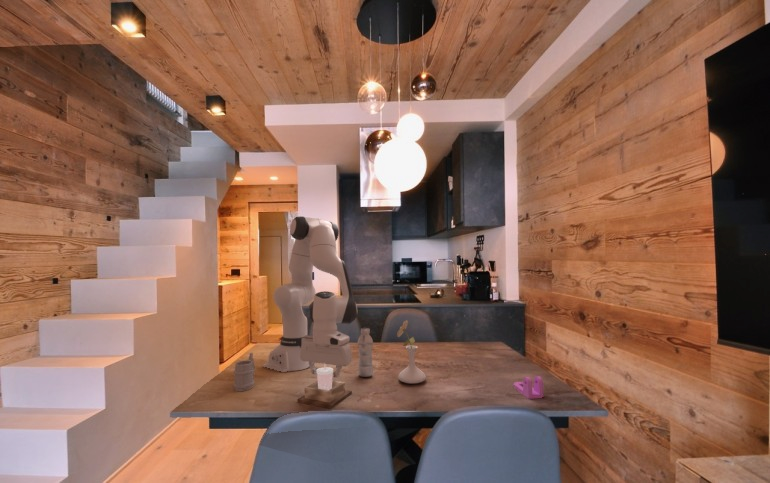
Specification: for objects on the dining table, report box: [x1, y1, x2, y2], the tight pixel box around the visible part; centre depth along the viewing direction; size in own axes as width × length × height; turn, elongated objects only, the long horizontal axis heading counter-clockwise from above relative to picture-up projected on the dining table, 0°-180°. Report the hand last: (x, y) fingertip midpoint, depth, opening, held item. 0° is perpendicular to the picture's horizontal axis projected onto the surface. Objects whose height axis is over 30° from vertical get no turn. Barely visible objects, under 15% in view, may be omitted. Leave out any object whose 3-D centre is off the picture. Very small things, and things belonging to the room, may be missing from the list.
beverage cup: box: [316, 364, 334, 391], centre depth 128 cm, size 6×6×14 cm
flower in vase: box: [396, 320, 427, 385], centre depth 143 cm, size 13×11×25 cm
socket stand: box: [296, 379, 353, 409], centre depth 127 cm, size 14×14×4 cm
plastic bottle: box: [357, 327, 375, 378], centre depth 150 cm, size 6×7×20 cm
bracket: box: [513, 375, 544, 400], centre depth 131 cm, size 13×6×7 cm, turn 7°
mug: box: [232, 352, 256, 392], centre depth 140 cm, size 8×12×12 cm, turn 174°
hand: (325, 375), depth 128 cm, fingers open, 8 cm apart
